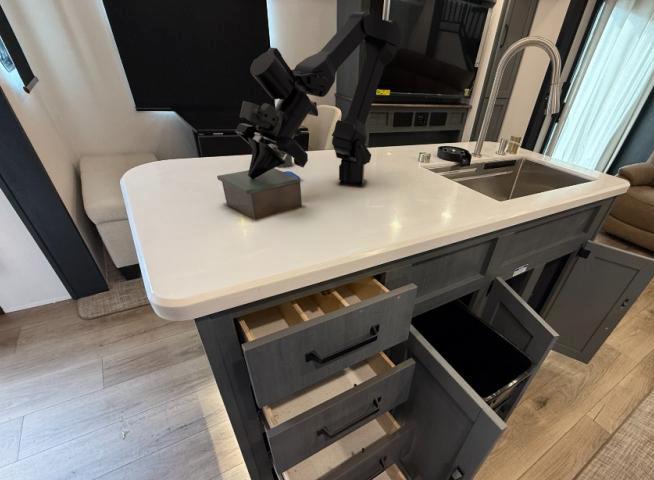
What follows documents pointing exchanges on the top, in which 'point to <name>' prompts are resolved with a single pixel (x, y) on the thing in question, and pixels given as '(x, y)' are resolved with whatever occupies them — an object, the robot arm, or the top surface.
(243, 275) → the top surface
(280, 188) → the box
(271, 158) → the robot arm
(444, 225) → the top surface
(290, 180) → the lid
